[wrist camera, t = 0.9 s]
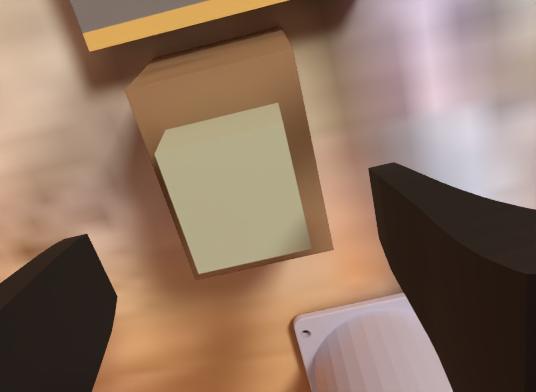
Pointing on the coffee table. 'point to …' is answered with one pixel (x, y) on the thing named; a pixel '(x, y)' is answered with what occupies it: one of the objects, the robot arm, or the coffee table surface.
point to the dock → (149, 17)
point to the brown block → (228, 102)
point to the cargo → (234, 188)
